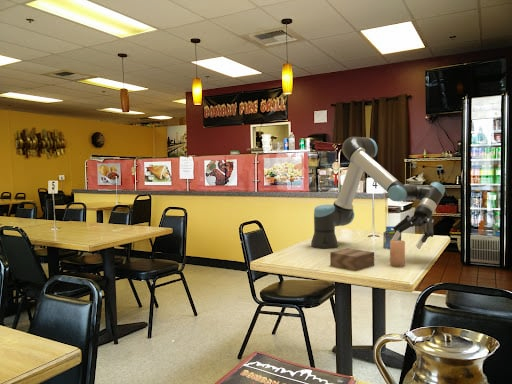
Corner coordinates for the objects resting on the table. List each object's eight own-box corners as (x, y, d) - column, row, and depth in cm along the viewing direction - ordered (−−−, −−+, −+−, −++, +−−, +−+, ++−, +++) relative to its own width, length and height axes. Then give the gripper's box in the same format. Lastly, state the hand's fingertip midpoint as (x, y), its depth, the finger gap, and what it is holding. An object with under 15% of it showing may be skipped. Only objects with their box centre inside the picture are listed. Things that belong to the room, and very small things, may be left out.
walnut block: (330, 265, 189) (330, 252, 188) (348, 260, 198) (348, 248, 198) (356, 270, 179) (356, 257, 178) (374, 265, 188) (374, 252, 188)
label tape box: (398, 247, 232) (398, 225, 232) (401, 248, 228) (401, 226, 228) (383, 247, 232) (383, 225, 232) (385, 248, 228) (385, 226, 227)
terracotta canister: (387, 265, 188) (387, 241, 188) (394, 262, 193) (394, 239, 192) (400, 267, 184) (400, 242, 183) (407, 265, 188) (407, 241, 188)
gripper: (453, 217, 188) (433, 254, 180) (406, 213, 208) (386, 246, 201) (446, 206, 184) (425, 243, 177) (399, 203, 205) (379, 236, 198)
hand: (404, 245), depth 189 cm, fingers open, 13 cm apart
